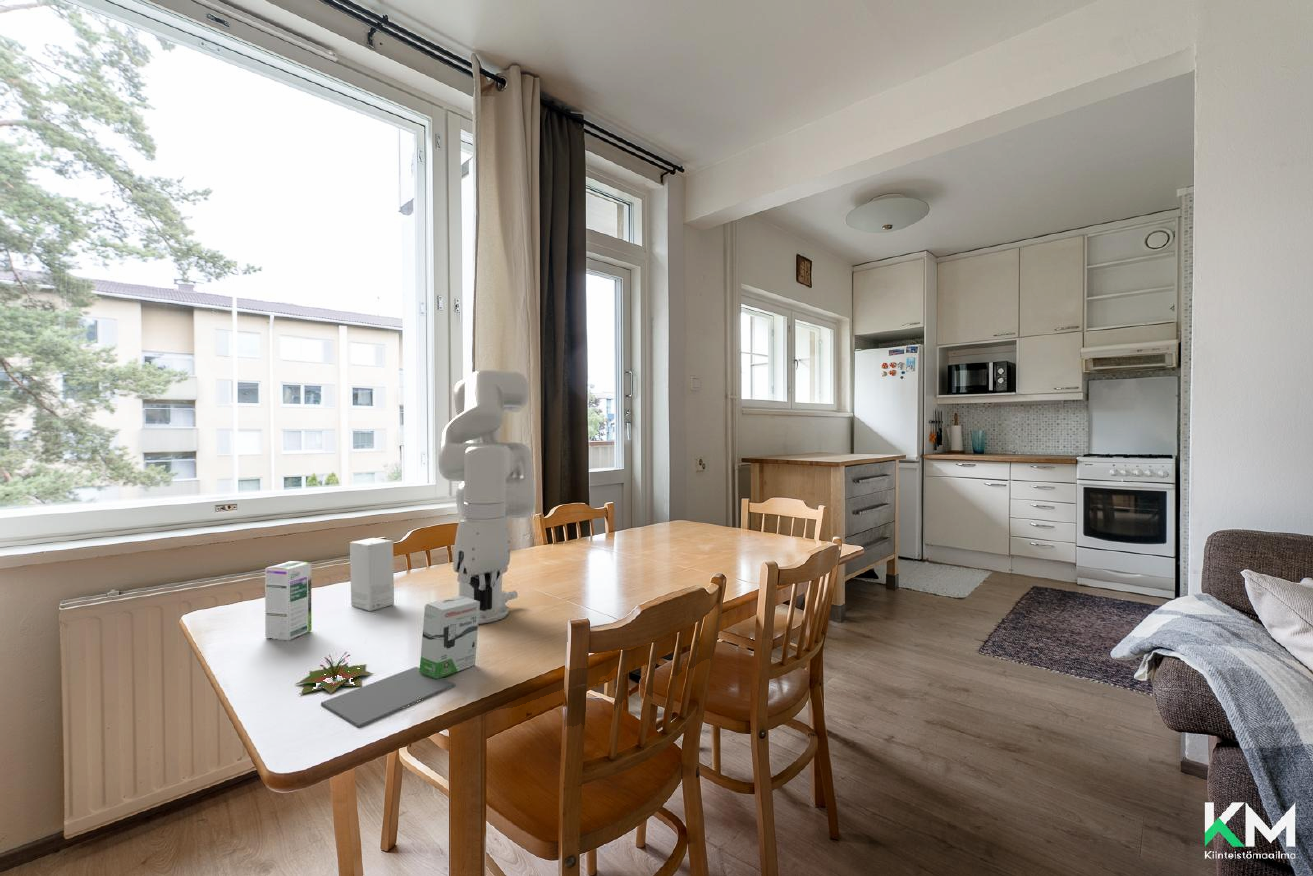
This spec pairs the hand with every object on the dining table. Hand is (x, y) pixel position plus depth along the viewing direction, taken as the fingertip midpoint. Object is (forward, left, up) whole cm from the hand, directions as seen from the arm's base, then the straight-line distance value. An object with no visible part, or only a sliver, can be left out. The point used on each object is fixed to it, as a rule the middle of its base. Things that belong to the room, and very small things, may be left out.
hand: (482, 608), depth 104 cm
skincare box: (-4, -45, -9) cm, 46 cm away
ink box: (+7, 0, -9) cm, 12 cm away
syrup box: (+16, -40, -9) cm, 44 cm away
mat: (+18, 0, -9) cm, 20 cm away
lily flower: (+21, -12, -10) cm, 26 cm away
